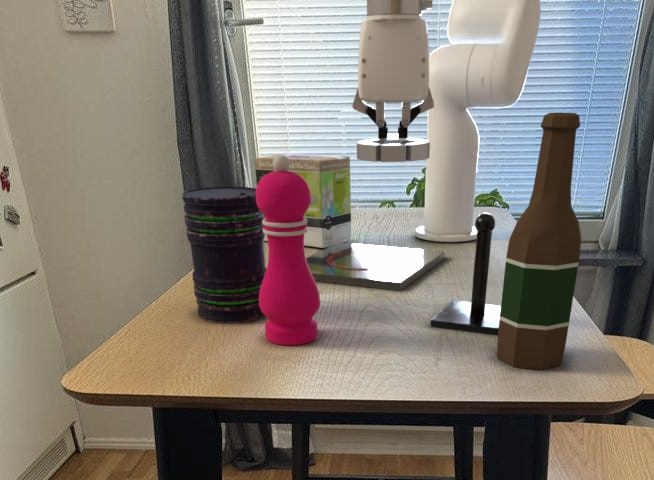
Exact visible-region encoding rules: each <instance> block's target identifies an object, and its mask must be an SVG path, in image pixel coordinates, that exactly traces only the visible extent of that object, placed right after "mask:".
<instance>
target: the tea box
mask: <svg viewBox="0 0 654 480" xmlns="http://www.w3.org/2000/svg"><path fill="white" fill-rule="evenodd" d="M277 155H278V154H275V155H267V156H261V157H255V158H254V169H255V181H256V182H255V183H256V186H257V185H258V183H259V181H260V180H261V179H262V178H263V177H264V176H265V175H267V174H268V173H271V172H274V171H276V170H275V169H274V167H273V160H274V158H275V157H276V156H277ZM283 155H284V156H286V157H287V158H288V160H289V163H290V166H289V169H288V170H287V171H291V172H294V173H297V174H299V175H300V176H301V177H303V178H304V179H305V181H306V182H307V184H308V186H309V189H310V194H311V202H310V206H309V208H308V210H307V211H306V212H305V214H304V218H306V219H307V223H306V225H307V229H308V231H307V232H306V233H304V247H313V248H321V249H327V248H329V247H331V246H333V245H335V244H337V243H339V242H342V243H347V242H348V241H351V239H352V202H351V201H352V196H351V193H352V192H351V157H350V156H347V155H346V156H344V155H339V156H338V155H319V154H293V153H287V154H283ZM264 219H266V218H265V216H264ZM264 241H265V242H268V239H267V235H266V234H265V238H264V239H263V242H264Z"/></svg>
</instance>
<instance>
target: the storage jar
mask: <svg viewBox="0 0 654 480" xmlns="http://www.w3.org/2000/svg"><path fill="white" fill-rule="evenodd" d="M256 188H257V187H256ZM256 188H255V187H248V186H211V187H201V188H194V189H188V190H186V191H183V192H182V193H181V198H182V202H183V204H184V205H183V212H184V214H185V215H184V216H183V217H184V224H185V227H186V237H187V241H188V243H189V244H190V250H191V257H192V265H193V271H192V282H193V293H194V296H195V298H196V299H195V303H196V304H197V306H198V308H197V315H198V317H199V318H200V319H201V320H204V321H207V322H211V323H217V324H218V323H219V324H238V323H248V322H253V321H257V320H259V319H262V318H265V317H266V316H265V315H264V314H263V312H262V311H261V309H260V307H259V293H260V287H261V284H262V281H263V278H264V276H265V273H266V269H267V266H266V259H265V245H264V240H263V239H264V238H265V233H263V229H264V227H263V226H264V225H263V224H262V221H263V220H264V214H263V213H262V212H261V211H260V209H259V208H258V206H257V204H256Z"/></svg>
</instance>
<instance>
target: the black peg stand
mask: <svg viewBox="0 0 654 480" xmlns="http://www.w3.org/2000/svg"><path fill="white" fill-rule="evenodd" d="M495 226H496V219H495V218H494V215H492V214H490V213H489V212H483V213H481V214H479V215H478V216H477V217H476V219H475V221H474V227H475V228H476V230H477V236H476V239H475V247H474V248H475V249H474V261H473V262H474V263H473V272H472V273H473V274H472V285H471V286H472V287H471V289H472V290H471V300H470V301H464V300H463V301H462V300H454V299H452V300H451V301H450V302H449V303H448V304H446V306H445V307H443V308H442V309H440V311H439V312H438V313H437V314H436V315H435V316H434V317H432V318H431V319H430V325H429V326H430V327H434V328H442V329H448V330H449V329H450V330H458V331H465V332H473V333H482V334H489V335H490V334H491V335H497V336H498V331H499V322H500V312H501V305H500V304H499V305H498V304H490V303H489V304H488V303H486V301H487V292H488V291H487V288H488V281H489V280H488V279H489V270H490V269H489V268H490V257H491V247H492V237H493V231H494V229H495Z"/></svg>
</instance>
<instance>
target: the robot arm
mask: <svg viewBox="0 0 654 480" xmlns="http://www.w3.org/2000/svg"><path fill="white" fill-rule="evenodd" d="M432 9H433V0H366V20H362V21H361V26H360V32H359V43H358V58H357V59H358V63H357V89H356V93H355V95H354V98H353V102H352V105H351V106H352V109H353V110H354V111H356V112H359V113H361V114H364V115H367V116H368V117H369V119H371V121H372V122H373V123H374V124H375V125H376V127H377V131H378V134H377V135H378V136H377V139H382V138H388V134H389V127H388V126H387V125H388V124H387V121H386V119H385V104H391V103H392V104H394V103H401V119H400V121H399V122H398V123H399V126H397V134H398V138H405V139H406V138H408V134H409V133H408V131H409V130H408V127H409V126H410V125H411V123H413V122H414V120H415V119H416V118H417V117H418V116H419V115H421V114H423V113H425V112H427V131H426V132H427V133H426V136H427V138H426V140H429V142H430V157H429V158H427V159H425V161H426V162H425V185H424V210H423V212H424V213H423V225H421V226H419V227H417V228H416V229H415V237H416V238H418V239H421V240H424V241H428V242H439V243H461V242H469V241H475V240H476V236H477V230H476V228H475V226H474V214H475V202H476V189H477V178H478V177H477V176H478V175H477V174H478V162H479V150H480V133H479V129H478V126H477V124H476V122H475V121H474V119H473V117H472V115H471V114H470V111H469V109H502V108H503V109H504V108H509V107H512V106H514V105H515V104H517V102H518V101H519V99H520V98H521V96H522V93H523V91H524V87H525V84H526V80H527V76H528V73H529V69H530V65H531V61H532V58H533V53H534V51H535V50H534V49H535V46H536V42H537V38H538V34H539V28H540V23H541V14H542V13H541V9H542V7H541V0H452V3H451V6H450V9H449V14H448V19H447V27H446V34H447V39H448V41H449V43H450V44H446V45H442V46H440V47H438V48H436V49H434V50H432V52H431V53H430V47H429V46H430V45H429V29H428V24H427V19H425V18H424V19H423V18H422V14H423V13H424V11H428V10H432ZM418 102H419V103H418ZM367 103H371V104H375V107H374V106H372V105H369V104H367ZM412 103H417V104H415V105H413V106H412V107H411V105H412Z"/></svg>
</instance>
